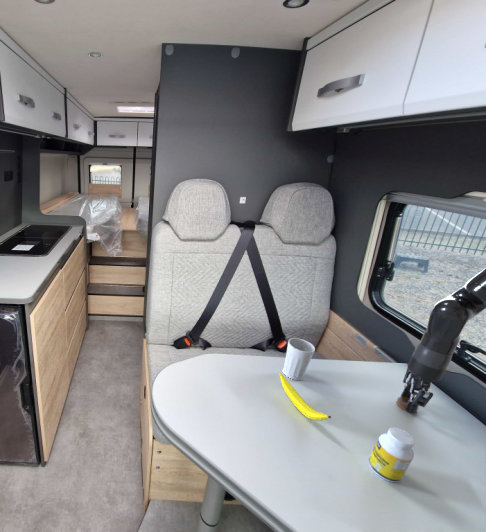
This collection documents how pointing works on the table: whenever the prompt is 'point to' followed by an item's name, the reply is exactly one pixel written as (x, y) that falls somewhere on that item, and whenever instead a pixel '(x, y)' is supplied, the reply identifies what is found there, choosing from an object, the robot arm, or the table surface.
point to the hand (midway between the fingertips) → (407, 404)
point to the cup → (297, 358)
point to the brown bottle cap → (403, 402)
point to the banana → (301, 402)
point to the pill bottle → (392, 454)
